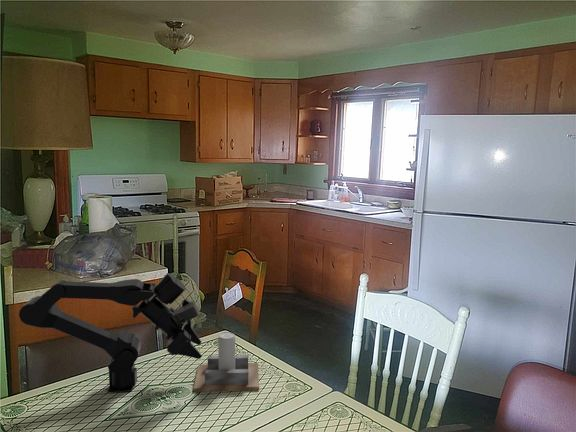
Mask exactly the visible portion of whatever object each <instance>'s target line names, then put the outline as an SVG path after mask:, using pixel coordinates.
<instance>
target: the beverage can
mask: <svg viewBox="0 0 576 432" xmlns="http://www.w3.org/2000/svg"><path fill="white" fill-rule="evenodd" d="M217 339H218V351H217V352H218V356H219V370H231V369H235V355H236V336H235V333H233V332H230V331H229V332H228V331H227V332H221V333H219V335H218V338H217Z"/></svg>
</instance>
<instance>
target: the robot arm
mask: <svg viewBox="0 0 576 432" xmlns="http://www.w3.org/2000/svg"><path fill="white" fill-rule="evenodd" d="M186 290H187V288H186V286H185V284H184V283H183V282H182V281H181V280H180V279H179V278H177V277H176V276H174V275H171V274H170V273H169V272H167V273H165V275H164V276H163V277H162V279H160V280H159V281H158V283H151V282H150V283H149V282H143V281H142V280H140V279H137V278H132V279H124V280H123V279H122V280H119V281H116V282H115V281H114V282H96V281H95V282H93V281H91V282H89V281H68V280H62V279H61V280H57V281H56V283H54V284H53V285H52V286H51V287H50V288H49V289H48V290H46V291H45V292H44V293H43V294H41V295H38V296H37V295H36V296H33V297H32V298H31V299H29V300H28V301H27V302H26V303H25V304H24V305H23V306H22V307H21V308H20V310H19V311H18V316H19V319H20V322H22V323H23V324H24V325H27V326H29V327H33V328H39V329H54V330H56V331H58V332H61V333H64V334H66V335H69V336H71V337H73V338H75V339H78V340H81V341H83V342H85V343H88V344H90V345H92V346H94V347H96V348H97V347H98V348H99V349H101V350H104V352H105V353H106V354H107V355H108V356H109V357H110V360H109V363H108V364H107V369H108V381H109V382H108V383H109V386H108V388H107V389H106V391H107V393H110V392H111V393H112V392H113V393H117V392H120V393H121V392H131V391H133V389H134V387H135V386H136V384H137V383H138V368H137V367H135V363H136V361H137V360H138V357H139V354H140V350H141V347H142V346H141V345H142V342H141V340H140V339H139V338H138V337H137V336H136V333H131V332H129V331H128V330H125V329H123V328H121V330H120V332H111V331H108V330H106V329H103V328H101V327H99V326H96V325H94V324H91V323H89V322H87V321H85V320H82V319H80V318H78V317H75V316H73V315H70V314H68V313H66V312H64V311H63V310H61V309H60V307H58V305H57V304H56V303H57V302H59V301H60V300H61V299H75V300H76V299H78V300H79V299H80V300H81V299H82V300H83V299H84V300H85V299H86V300H107V301H112V302H114V303H117V304H120V305H125V306H131V307H132V308H131V309H132V318H133V319H134V318H137V317H138V315H140V314H142V316H143V317H144V318H146V319H147V320H148V321H150V323H151V324H152V325H154V329H155V331H158V330H160V331H161V332H162V333H163V334H165V338H166V339H167V340H168V341H167V345H166V346H167V347H166V348H167V349H166V352H167V353H169V354H170V355H171V356H177V355H178V356H185V357H188V358H194V359H198V360H199V359H201V358H202V354H201V352H200V351H199V350H198V349H197V348H196V346H195V345H198V346H200V345H201V344H202V340H201V339H200V337H199V336H198V334H197V332H196V331H195V330H194V328H193V327H192V319H195V318H197V317H198V316H199V310H198V307H197V306H196V303H195V301H193V300H189V299H187V298H185V299H183V300H182V301H181V306H179V308H177V309H175V308H174V307H168V306H166V305H171V304H173V303H174V302H175V301H176V300H177V298H179V297H180V296H181V295H182V294H183V293H184V292H185V291H186ZM194 344H195V345H194Z"/></svg>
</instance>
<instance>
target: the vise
mask: <svg viewBox="0 0 576 432" xmlns="http://www.w3.org/2000/svg"><path fill="white" fill-rule="evenodd" d="M197 366H198V367H197V369H196V370H197V371H196V375H195V379H194V386H193V393H195V392H197V393H198V392H199V393H200V392H229V391H231V392H233V391H234V392H235V391H238V392H239V391H260V379H259V378H260V377H259V376H260V375H259V374H260V373H259V363H255V362H254V363H249V354H237V355H236V354H235V369H231V370H219V355H207V363H206V364H204V363H203V364H198V365H197Z"/></svg>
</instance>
